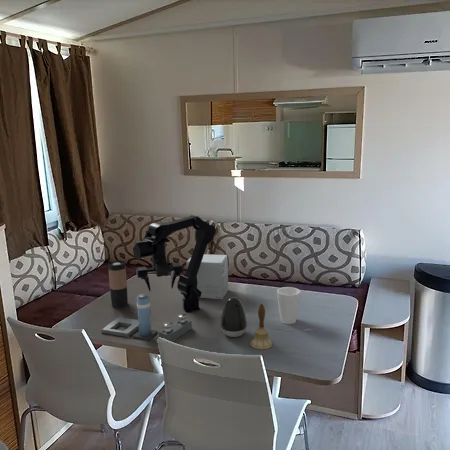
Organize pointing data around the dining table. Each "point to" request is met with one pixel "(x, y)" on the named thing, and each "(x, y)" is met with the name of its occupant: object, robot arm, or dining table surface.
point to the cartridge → (144, 314)
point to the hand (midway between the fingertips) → (160, 289)
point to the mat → (145, 336)
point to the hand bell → (261, 333)
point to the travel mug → (118, 283)
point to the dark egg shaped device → (233, 318)
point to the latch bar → (176, 330)
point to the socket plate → (120, 321)
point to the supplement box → (213, 276)
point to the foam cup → (288, 304)
